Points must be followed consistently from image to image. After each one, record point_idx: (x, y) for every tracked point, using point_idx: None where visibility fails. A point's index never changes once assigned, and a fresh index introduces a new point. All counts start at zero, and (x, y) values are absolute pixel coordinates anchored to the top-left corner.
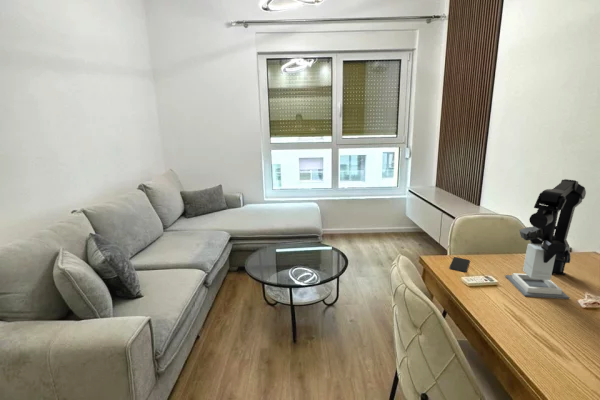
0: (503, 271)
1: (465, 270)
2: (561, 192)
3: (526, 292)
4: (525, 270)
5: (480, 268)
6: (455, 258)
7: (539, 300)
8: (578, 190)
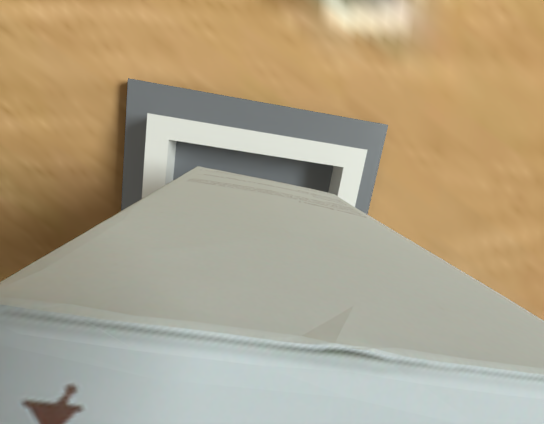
0: (446, 159)
1: None
2: None
3: (156, 109)
4: (295, 187)
5: (513, 20)
6: None
7: (89, 144)
8: None
